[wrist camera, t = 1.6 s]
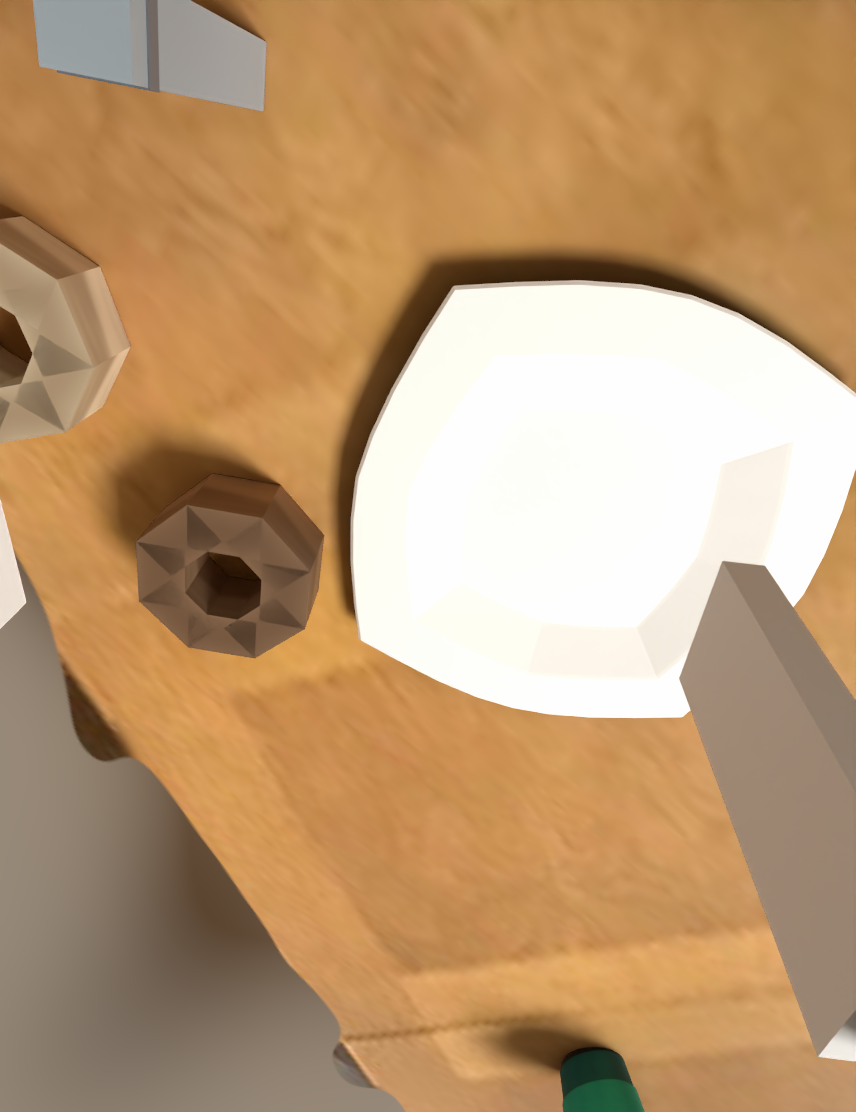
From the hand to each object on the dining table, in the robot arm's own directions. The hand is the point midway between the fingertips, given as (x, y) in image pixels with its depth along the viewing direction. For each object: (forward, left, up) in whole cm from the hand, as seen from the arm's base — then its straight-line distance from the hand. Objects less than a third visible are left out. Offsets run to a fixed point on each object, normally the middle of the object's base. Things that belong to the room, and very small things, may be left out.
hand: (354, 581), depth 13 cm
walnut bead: (+13, -7, -21) cm, 25 cm away
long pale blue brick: (-8, -8, -21) cm, 24 cm away
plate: (+8, +10, -21) cm, 24 cm away
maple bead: (+3, -17, -21) cm, 27 cm away
